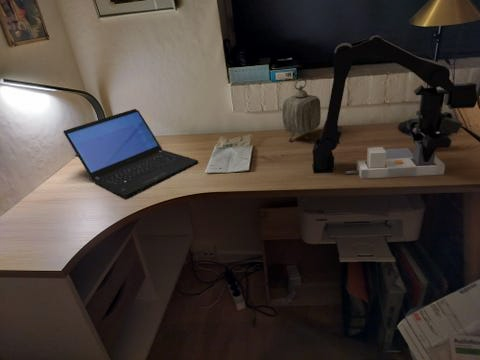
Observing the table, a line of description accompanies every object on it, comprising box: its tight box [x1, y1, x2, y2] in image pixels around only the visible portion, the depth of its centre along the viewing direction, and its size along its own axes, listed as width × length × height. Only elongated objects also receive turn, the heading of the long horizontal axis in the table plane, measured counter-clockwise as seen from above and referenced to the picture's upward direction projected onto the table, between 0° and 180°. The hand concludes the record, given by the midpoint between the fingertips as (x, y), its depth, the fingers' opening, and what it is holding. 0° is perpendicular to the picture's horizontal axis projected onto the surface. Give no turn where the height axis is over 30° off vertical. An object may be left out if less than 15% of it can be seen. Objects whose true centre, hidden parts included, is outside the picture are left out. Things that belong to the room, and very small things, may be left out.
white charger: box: [366, 146, 386, 169], centre depth 105 cm, size 4×4×8 cm
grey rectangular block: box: [412, 140, 437, 166], centre depth 102 cm, size 4×4×9 cm
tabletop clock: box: [281, 77, 322, 142], centre depth 135 cm, size 14×9×25 cm, turn 133°
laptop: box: [62, 108, 199, 198], centre depth 129 cm, size 33×38×19 cm
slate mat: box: [384, 147, 414, 159], centre depth 115 cm, size 10×10×1 cm
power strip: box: [345, 155, 446, 179], centre depth 105 cm, size 28×7×4 cm, turn 83°
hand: (423, 158), depth 102 cm, fingers closed on grey rectangular block, 4 cm apart
